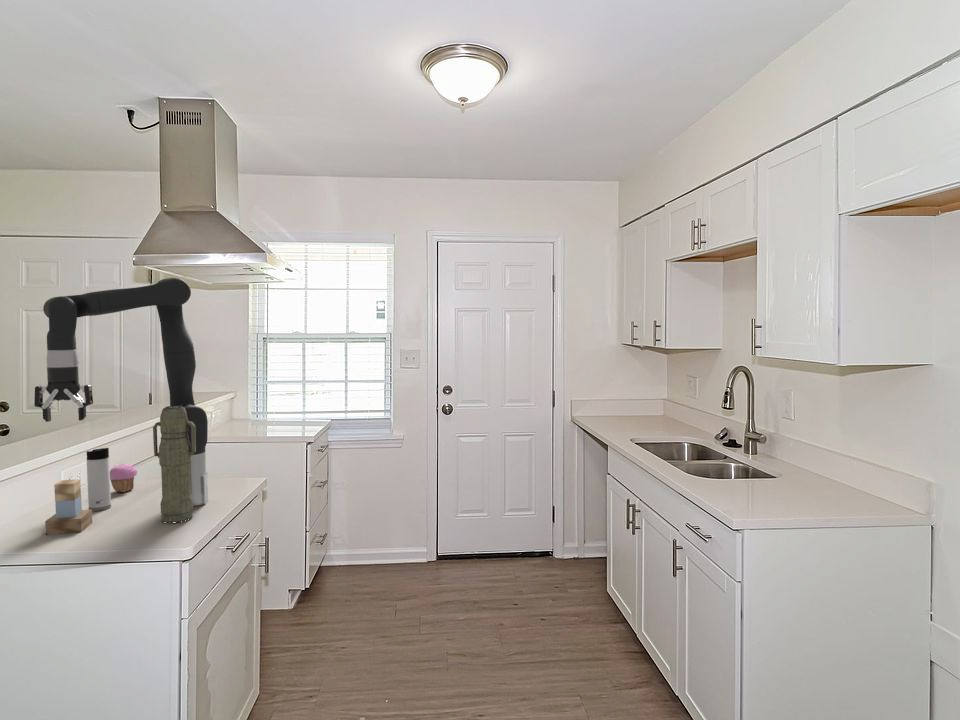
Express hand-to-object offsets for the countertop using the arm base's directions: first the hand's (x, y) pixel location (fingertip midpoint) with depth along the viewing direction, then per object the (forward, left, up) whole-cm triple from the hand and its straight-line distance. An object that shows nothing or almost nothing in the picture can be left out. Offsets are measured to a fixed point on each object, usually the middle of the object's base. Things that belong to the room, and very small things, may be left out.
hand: (65, 420), depth 179 cm
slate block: (0, 0, -28) cm, 28 cm away
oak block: (0, 0, -23) cm, 23 cm away
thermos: (-29, -1, -32) cm, 43 cm away
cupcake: (-3, -41, -32) cm, 52 cm away
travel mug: (-2, -20, -32) cm, 38 cm away
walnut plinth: (0, 0, -32) cm, 32 cm away
